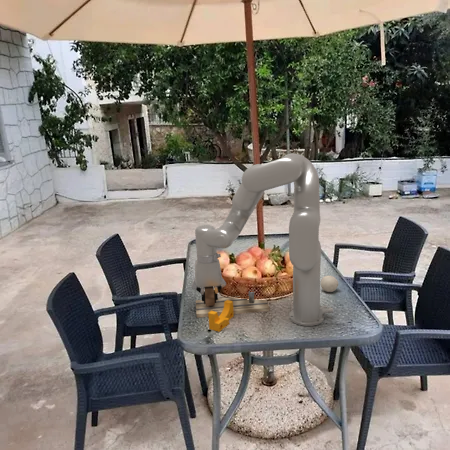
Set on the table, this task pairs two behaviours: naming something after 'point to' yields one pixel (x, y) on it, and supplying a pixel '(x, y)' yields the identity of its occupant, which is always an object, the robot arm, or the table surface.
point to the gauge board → (238, 306)
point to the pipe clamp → (221, 317)
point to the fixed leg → (251, 297)
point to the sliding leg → (209, 296)
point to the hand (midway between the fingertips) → (209, 301)
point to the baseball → (329, 283)
